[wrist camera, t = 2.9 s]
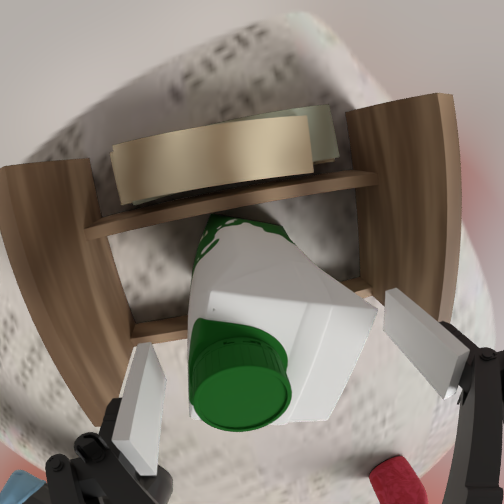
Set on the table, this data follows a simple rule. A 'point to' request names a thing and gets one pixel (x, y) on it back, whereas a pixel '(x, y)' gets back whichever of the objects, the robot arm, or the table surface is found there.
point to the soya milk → (267, 329)
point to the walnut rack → (98, 228)
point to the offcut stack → (224, 153)
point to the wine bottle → (397, 483)
